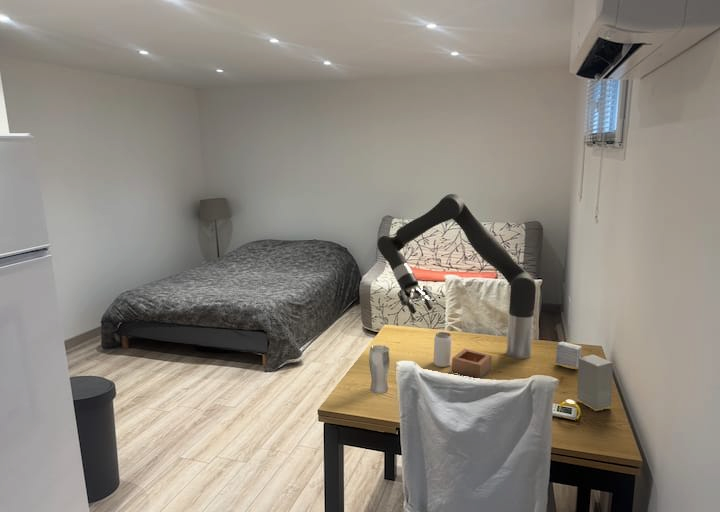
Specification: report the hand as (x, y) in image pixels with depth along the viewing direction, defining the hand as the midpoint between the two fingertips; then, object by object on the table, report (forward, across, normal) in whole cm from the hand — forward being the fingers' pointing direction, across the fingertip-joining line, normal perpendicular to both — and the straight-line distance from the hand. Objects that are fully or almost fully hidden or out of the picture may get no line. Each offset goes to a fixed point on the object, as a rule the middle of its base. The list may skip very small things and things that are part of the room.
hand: (422, 311), depth 199 cm
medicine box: (+41, +38, -16) cm, 59 cm away
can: (+21, 0, +5) cm, 22 cm away
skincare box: (+57, +18, -32) cm, 68 cm away
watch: (+58, +4, -32) cm, 66 cm away
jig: (+29, +4, -4) cm, 30 cm away
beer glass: (+24, -33, +2) cm, 40 cm away
